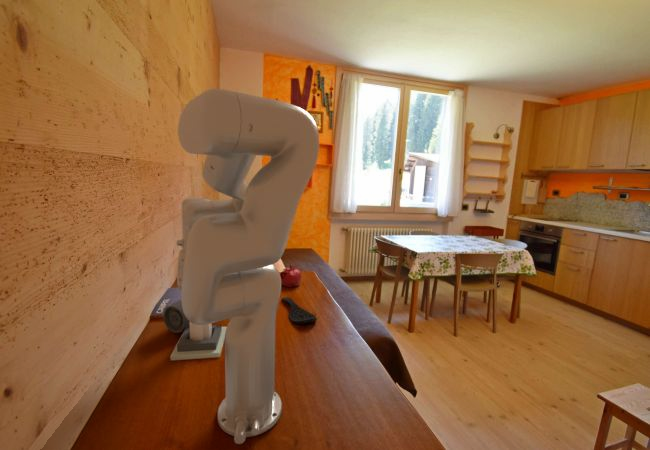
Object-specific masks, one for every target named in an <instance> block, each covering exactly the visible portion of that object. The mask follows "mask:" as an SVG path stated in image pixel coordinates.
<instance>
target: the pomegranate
mask: <svg viewBox="0 0 650 450" xmlns="http://www.w3.org/2000/svg"><path fill="white" fill-rule="evenodd" d="M292 266H293V264H292V263H291V264H289V267H288V266H285V268H283V269H282V271H281V272H279V273H280V277H281V286H283V287H288V288H293V287H297V286H299V284H300V283H301V281H302V277H303V276H302V272H301V271H300V269H298V268H297V266H293V267H292Z"/></svg>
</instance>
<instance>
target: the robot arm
mask: <svg viewBox="0 0 650 450" xmlns="http://www.w3.org/2000/svg"><path fill="white" fill-rule="evenodd" d="M177 136H178V141H179V145H180V147H182V149H183V150H184V151H185V152H186V153H188V154H192V155H204V156H205V155H206V157H205V159H204V163H203V166H202V169H201V175H202V178H203V180H204V182H205V183H206V185H208V186H209V187H210V188H211V189H212V190H214V191H216V192H219V193H221V194H223V195H225V196H228V197H231V199H214V200H213V199H209V198H205V197H204V198H203V197H188V198H185V199H183V201H182V202H181V222H182V223H181V228H182V229H181V230H182V239H180V240H176V245H177V246H180V247H181V249H180V250H179V252H178V258H177V270H176V282H177V284H176V285H177V289H178V290H180V291H181V299H180V300H181V301H182V308H183V312H184V315H185V316H186V318H187V319H188V320H189V321H190V322H191V323H193V324H196V325H206V324H211V323H212V324H215V323H219V322H221V321H226V320H229V321H228V323H227V326H226V327H227V329H226V333H225V340H224V367H225V368H224V370H225V371H224V372H225V380H224V381H225V398H223V400H222V401H221V403H220V404H219V406H218V408H217V409H218V410H217V423H218V425H219V427H220V429H221V430H223V432H224V433H227V434H228V435H229V436H232V437H233V441H234V443H235V444H237V445H241V444H243V443H244V442H245V441H246V439H247V438H249V437H256V436H258V435H261V434H263V433H265V432H267V431H268V430H270V429H271V428H272V427H274V426H275V424H277V422H278V420H279V419H280V417H281V414H282V409H283V403H282V399H281V397H280V395H279V394H278V392H276V391H275V381H276V380H275V374H276V373H275V370H276V369H275V368H276V367H275V366H276V365H275V364H276V363H275V362H276V358H275V357H276V325H277V324H276V321H277V313H278V307H279V303H280V297H281V293H282V284H281V277H280V273H281V272H280V271H279V269H278V268H277V267H276V266H275V264H276V263H277V262H279V261H280V259H281V258H282V257H283V255H284V252H285V249H286V247H287V244H288V240H289V237H290V234H291V231H292V227H293V224H294V220H295V218H296V214H297V211H298V210H297V209H298V206H299V204H300V201H301V198H302V196H303V194H304V192H305V190H306V188H307V185H308V184H309V181H310V179H311V177H312V176H313V173H314V171H315V168H316V165H317V162H318V157H319V152H320V133H319V129H318V126H317V123H316V121H315V120H314V118H313V116H312V115H311V114H310V113H309V112H308V111H306V110H305V109H303V108H301V107H300V106H297V105H295V104H292V103H289V102H285V101H282V100H278V99H277V100H276V99H272V98H268V97H264V96H263V97H262V96H256V95H251V94H248V93H243V92H238V91H235V90H229V89H223V88H210V89H207V90H204V91H203V92H202V93H200V94H199V95H197V96H196V97H194V98H192V99H191V100H190V101H188V102H187V104H186V105H185V106H184V108H183V109H182V111H181V113H180V116H179V119H178V125H177ZM257 156H262V157H270V160H269V162H268V163H266V164H265V165H263V166H262V167H261V168H260V169H259V170H258V171H257V172H256V173H255V175H254V176H253V178H252V179H250V181H249V183H248V184H247V182H246V181H245V180H246V178H247V176H248V173H249V172H250V170H251V167H252V166H253V164H254V161H255V159H256V157H257Z"/></svg>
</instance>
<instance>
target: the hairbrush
mask: <svg viewBox="0 0 650 450" xmlns="http://www.w3.org/2000/svg"><path fill="white" fill-rule="evenodd" d="M281 302H284V303H286V304H287V305H289V306H290V309H289V313H288V317H289V318H288V319H289V320H290V322H291V323H292V324H297V325H298V324H306V323H311V322H315V321H317V314H314V313H312V312H311V310H309V309H308V310H307V309H306V308H304V307H303V308H302V307H300V305H299V304H297V303H296V302H295V300H293V298H292V297H288V296H287V297H286V296H285V297H281Z"/></svg>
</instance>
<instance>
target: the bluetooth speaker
mask: <svg viewBox="0 0 650 450" xmlns="http://www.w3.org/2000/svg"><path fill="white" fill-rule="evenodd" d="M163 322H164V324H165V326H166V329H168V330H169V331H170V332H172V333H181V332H182V333H183V332H184V330H185V329H186V327H190V322H189V320H188V319H187V318H186V316H185V315H184V312H183V308H182V301H181V299H178V300H177V301H175V302H173V303H172V304H171V303H170V304H169V305H168V306H167V307H165V309H164V312H163Z"/></svg>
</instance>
